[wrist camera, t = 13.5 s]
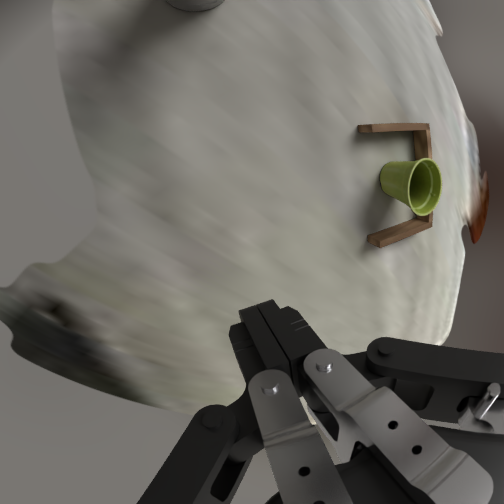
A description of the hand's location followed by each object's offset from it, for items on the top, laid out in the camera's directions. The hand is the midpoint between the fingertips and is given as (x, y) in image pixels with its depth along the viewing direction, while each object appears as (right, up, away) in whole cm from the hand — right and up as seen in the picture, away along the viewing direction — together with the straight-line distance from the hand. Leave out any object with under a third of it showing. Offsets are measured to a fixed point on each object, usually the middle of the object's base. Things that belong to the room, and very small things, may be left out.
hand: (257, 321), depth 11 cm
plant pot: (+24, +16, +32) cm, 43 cm away
